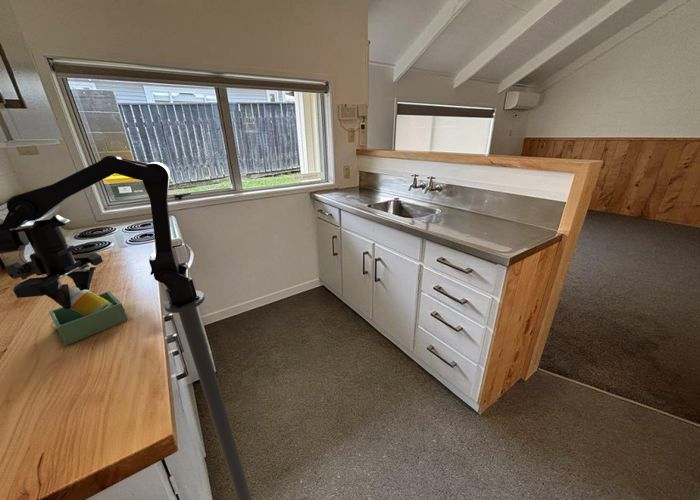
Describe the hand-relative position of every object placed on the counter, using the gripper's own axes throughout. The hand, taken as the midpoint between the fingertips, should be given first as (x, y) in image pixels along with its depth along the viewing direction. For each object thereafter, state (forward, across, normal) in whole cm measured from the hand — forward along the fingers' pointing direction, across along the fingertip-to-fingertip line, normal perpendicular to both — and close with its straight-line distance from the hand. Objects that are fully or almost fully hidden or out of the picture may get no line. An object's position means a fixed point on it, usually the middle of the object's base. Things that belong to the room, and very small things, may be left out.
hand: (77, 302), depth 72 cm
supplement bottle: (+4, 0, +6) cm, 7 cm away
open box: (+6, +1, +2) cm, 7 cm away
